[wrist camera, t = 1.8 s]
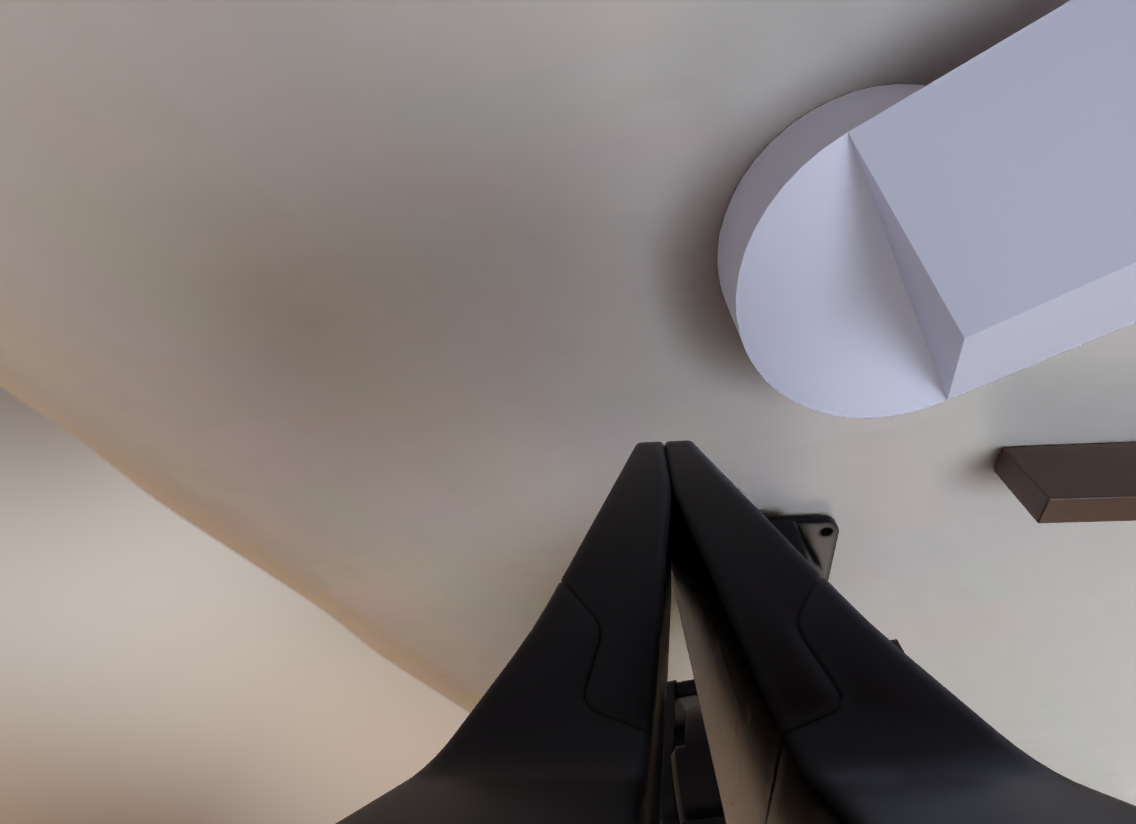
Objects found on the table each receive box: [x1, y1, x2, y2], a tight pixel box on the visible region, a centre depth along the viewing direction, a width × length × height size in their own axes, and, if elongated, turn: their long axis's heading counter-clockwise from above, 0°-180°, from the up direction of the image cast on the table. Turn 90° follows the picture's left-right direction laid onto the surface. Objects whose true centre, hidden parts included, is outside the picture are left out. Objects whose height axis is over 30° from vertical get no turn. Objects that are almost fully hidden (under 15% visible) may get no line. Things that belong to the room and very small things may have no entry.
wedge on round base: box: [717, 0, 1136, 418], centre depth 16 cm, size 9×7×13 cm
